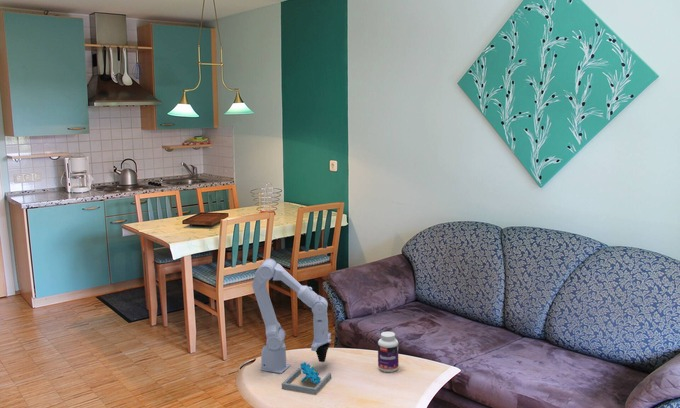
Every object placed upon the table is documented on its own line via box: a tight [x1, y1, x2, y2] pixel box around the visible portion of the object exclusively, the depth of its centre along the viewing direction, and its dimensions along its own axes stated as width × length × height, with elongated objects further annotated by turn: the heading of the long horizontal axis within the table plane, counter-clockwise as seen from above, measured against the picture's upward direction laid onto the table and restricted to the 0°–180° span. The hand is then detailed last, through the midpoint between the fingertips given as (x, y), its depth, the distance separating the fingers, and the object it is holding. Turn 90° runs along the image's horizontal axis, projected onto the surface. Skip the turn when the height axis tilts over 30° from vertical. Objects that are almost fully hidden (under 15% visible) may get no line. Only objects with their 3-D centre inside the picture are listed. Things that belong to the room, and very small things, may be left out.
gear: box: [299, 361, 322, 385], centre depth 225 cm, size 11×6×10 cm
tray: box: [281, 367, 332, 396], centre depth 224 cm, size 14×14×2 cm
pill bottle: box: [377, 331, 400, 373], centre depth 233 cm, size 8×8×14 cm
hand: (322, 361), depth 237 cm, fingers closed
